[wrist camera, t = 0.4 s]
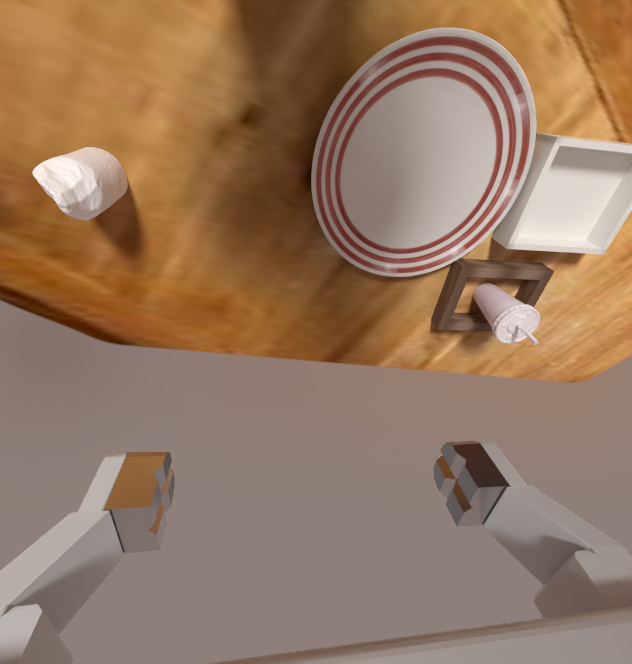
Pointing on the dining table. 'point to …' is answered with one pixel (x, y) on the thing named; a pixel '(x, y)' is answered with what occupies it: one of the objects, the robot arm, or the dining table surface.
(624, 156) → the tray
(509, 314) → the smoothie
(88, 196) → the white tapered bottle
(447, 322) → the socket block
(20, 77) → the dining table surface
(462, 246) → the dinner plate
